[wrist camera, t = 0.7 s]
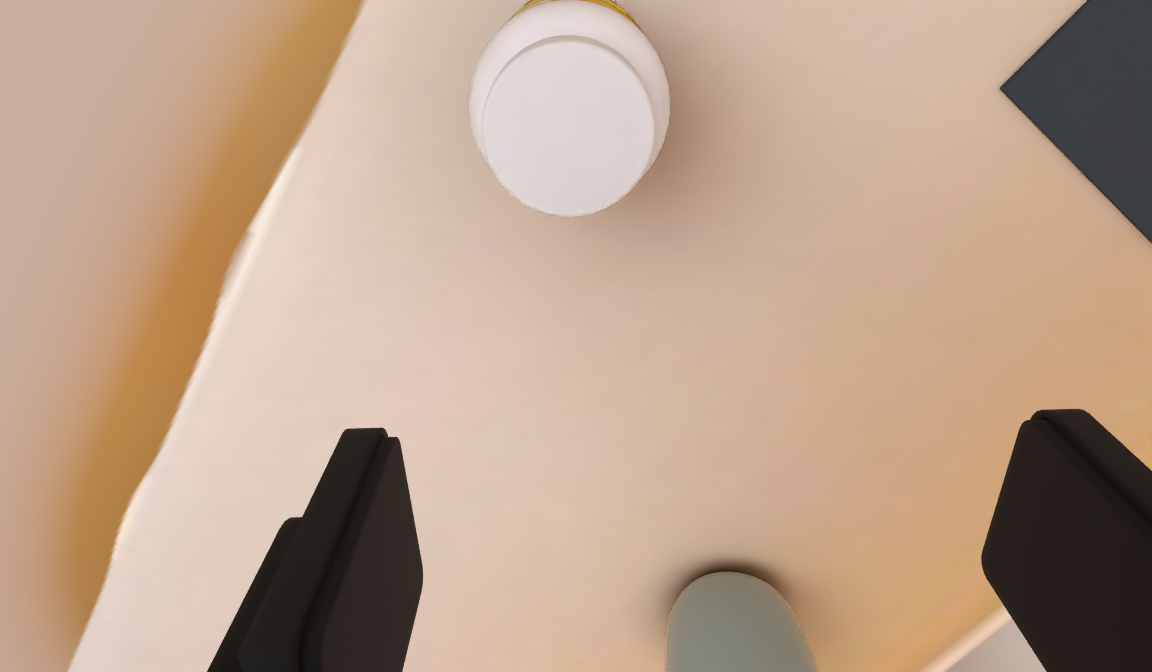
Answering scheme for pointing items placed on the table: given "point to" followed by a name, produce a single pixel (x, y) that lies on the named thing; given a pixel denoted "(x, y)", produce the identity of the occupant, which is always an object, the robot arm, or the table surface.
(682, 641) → the cup
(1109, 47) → the mat
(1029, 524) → the robot arm
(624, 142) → the pill bottle
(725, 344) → the table surface
